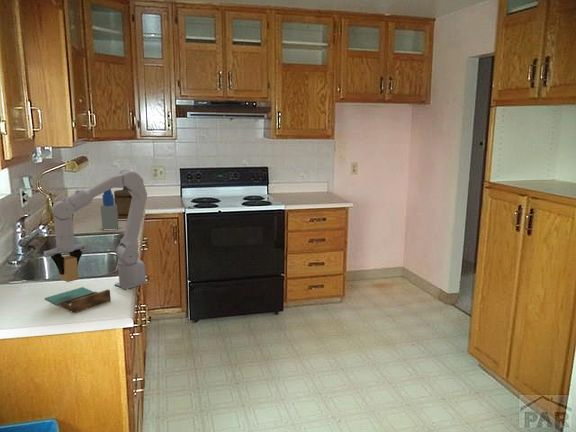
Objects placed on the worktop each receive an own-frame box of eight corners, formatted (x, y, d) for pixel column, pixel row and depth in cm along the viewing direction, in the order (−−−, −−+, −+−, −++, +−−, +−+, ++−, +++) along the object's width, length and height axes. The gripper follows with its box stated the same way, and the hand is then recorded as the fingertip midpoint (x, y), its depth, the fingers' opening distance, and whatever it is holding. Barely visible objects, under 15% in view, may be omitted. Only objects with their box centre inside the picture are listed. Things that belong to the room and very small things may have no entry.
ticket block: (70, 275, 165) (68, 254, 163) (78, 279, 161) (76, 257, 160) (59, 278, 162) (57, 257, 160) (67, 282, 158) (65, 260, 156)
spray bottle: (102, 228, 269) (99, 186, 264) (118, 226, 272) (115, 185, 267) (102, 231, 261) (98, 188, 256) (118, 230, 264) (115, 187, 259)
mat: (82, 288, 171) (82, 287, 171) (96, 293, 165) (95, 292, 165) (44, 299, 160) (44, 298, 160) (57, 305, 154) (57, 304, 154)
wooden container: (143, 218, 298) (141, 185, 293) (122, 221, 287) (120, 187, 282) (132, 215, 307) (129, 183, 303) (111, 218, 297) (108, 185, 292)
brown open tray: (95, 294, 165) (95, 284, 164) (110, 300, 159) (109, 290, 158) (59, 305, 154) (58, 294, 154) (73, 313, 148) (72, 301, 148)
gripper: (48, 241, 150) (52, 280, 153) (90, 233, 161) (93, 269, 164) (39, 238, 154) (43, 275, 157) (80, 230, 166) (83, 265, 168)
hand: (68, 272), depth 161 cm, fingers closed on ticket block, 4 cm apart
